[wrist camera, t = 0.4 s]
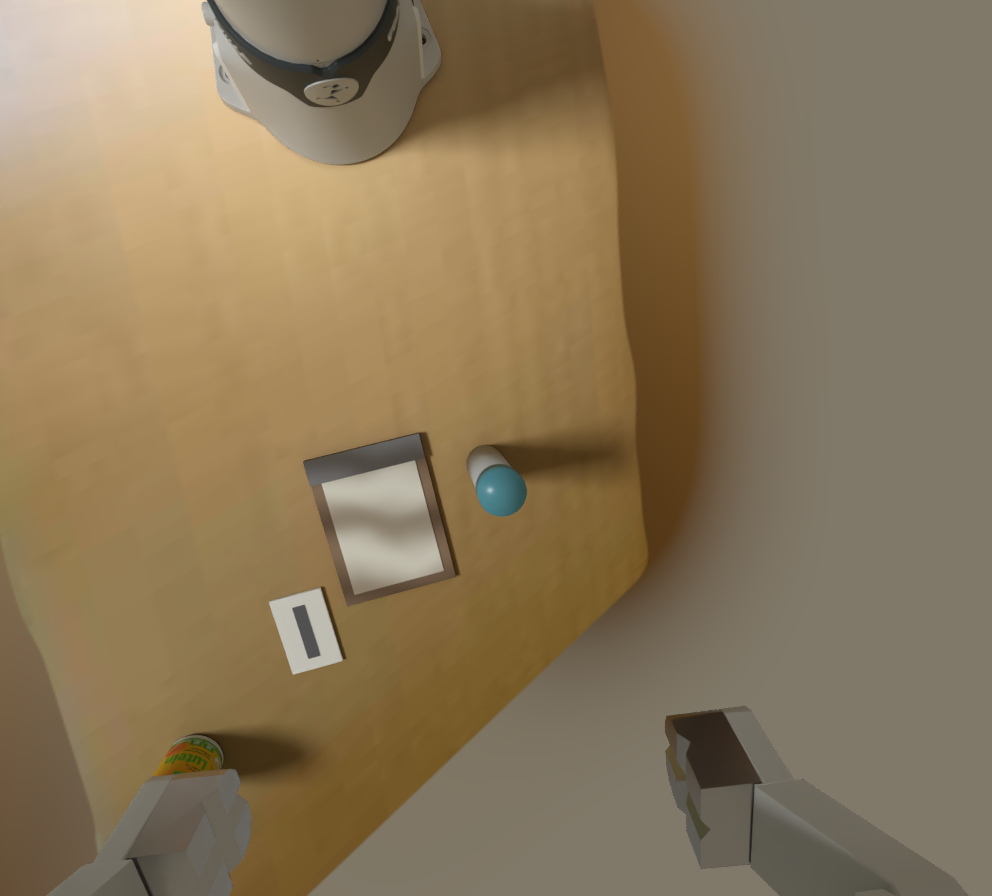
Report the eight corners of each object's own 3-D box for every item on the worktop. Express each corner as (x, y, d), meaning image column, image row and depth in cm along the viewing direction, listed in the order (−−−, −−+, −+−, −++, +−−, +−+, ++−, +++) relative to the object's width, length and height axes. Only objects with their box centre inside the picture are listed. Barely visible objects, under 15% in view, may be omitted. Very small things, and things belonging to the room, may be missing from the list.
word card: (269, 600, 55) (268, 602, 55) (320, 586, 56) (320, 588, 55) (293, 672, 57) (292, 674, 56) (343, 659, 57) (342, 661, 57)
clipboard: (304, 460, 53) (303, 462, 53) (418, 432, 54) (418, 433, 54) (347, 604, 56) (347, 607, 56) (455, 575, 57) (456, 578, 57)
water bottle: (461, 449, 55) (473, 475, 43) (499, 439, 56) (520, 463, 44) (470, 486, 56) (484, 521, 44) (507, 476, 56) (531, 509, 45)
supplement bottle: (226, 733, 57) (187, 810, 47) (223, 781, 58) (185, 866, 48) (168, 732, 56) (117, 809, 47) (166, 781, 57) (116, 867, 47)
